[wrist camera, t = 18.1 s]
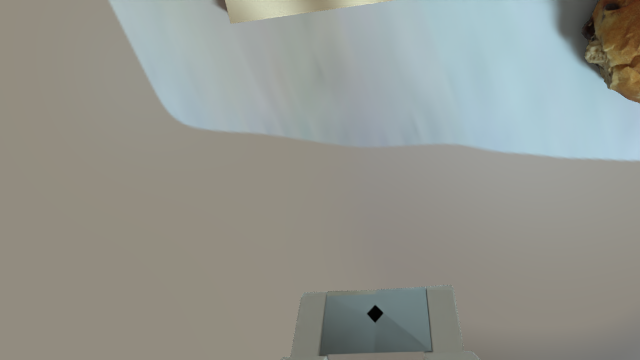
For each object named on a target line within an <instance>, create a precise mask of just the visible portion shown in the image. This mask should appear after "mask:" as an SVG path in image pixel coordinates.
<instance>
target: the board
mask: <svg viewBox="0 0 640 360" xmlns="http://www.w3.org/2000/svg"><path fill="white" fill-rule="evenodd" d="M385 1H392V0H225V3H226V6H227V10H228V14H229V18H230V22H231V24H232V23H239V22H246V21H253V20H260V19H267V18H274V17H281V16H288V15H295V14H302V13H309V12H316V11H322V10H329V9H336V8H343V7H350V6H357V5H364V4H371V3H378V2H385Z"/></svg>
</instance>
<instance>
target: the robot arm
mask: <svg viewBox="0 0 640 360" xmlns="http://www.w3.org/2000/svg"><path fill="white" fill-rule="evenodd" d="M281 360H480V359H479V358H478V357H477V356H476V355H475V354H474V353H473V352H471V351H469V352H468V351H464V347H463V341H462V335H461V329H460V324H459V318H458V312H457V306H456V300H455V294H454V288H453V287H452V286H451V285H443V286H428V287H426V288H425V287H414V288H397V289H381V290H361V291H330V292H314V293H313V292H310V293H308V292H307V293H304V294H303V295H302V297H301V300H300V306H299V312H298V317H297V323H296V328H295V334H294V339H293V345H292V351H291V356H290V357H283V358H282V359H281Z"/></svg>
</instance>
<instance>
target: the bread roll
mask: <svg viewBox="0 0 640 360" xmlns="http://www.w3.org/2000/svg"><path fill="white" fill-rule="evenodd" d="M582 34H583V36H584V37H585V38H587V39H588V42H589V45H588V46H587V47H586V50H587V51H586V52H585V59H586V61H587V62H588V63H594V64H596V65H597V66H598V67H599V68H600V74H601V76H602V77H603V79H604V82H605V83H606V84H607V87H608V89H610V90H611V89H612V90H614V91H616V92H618V93H620V94H621V95H622V96H624V97H625V98H627V99H629V100H632V101H635V102H638V103H640V0H599V1H598V3H597V5H596V7H595V9H594V11H593V14H592V17H591V18H590V20H589V21H588V22H587V23H586V24H585V25H584V27H583V28H582ZM617 64H618V65H617Z"/></svg>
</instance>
